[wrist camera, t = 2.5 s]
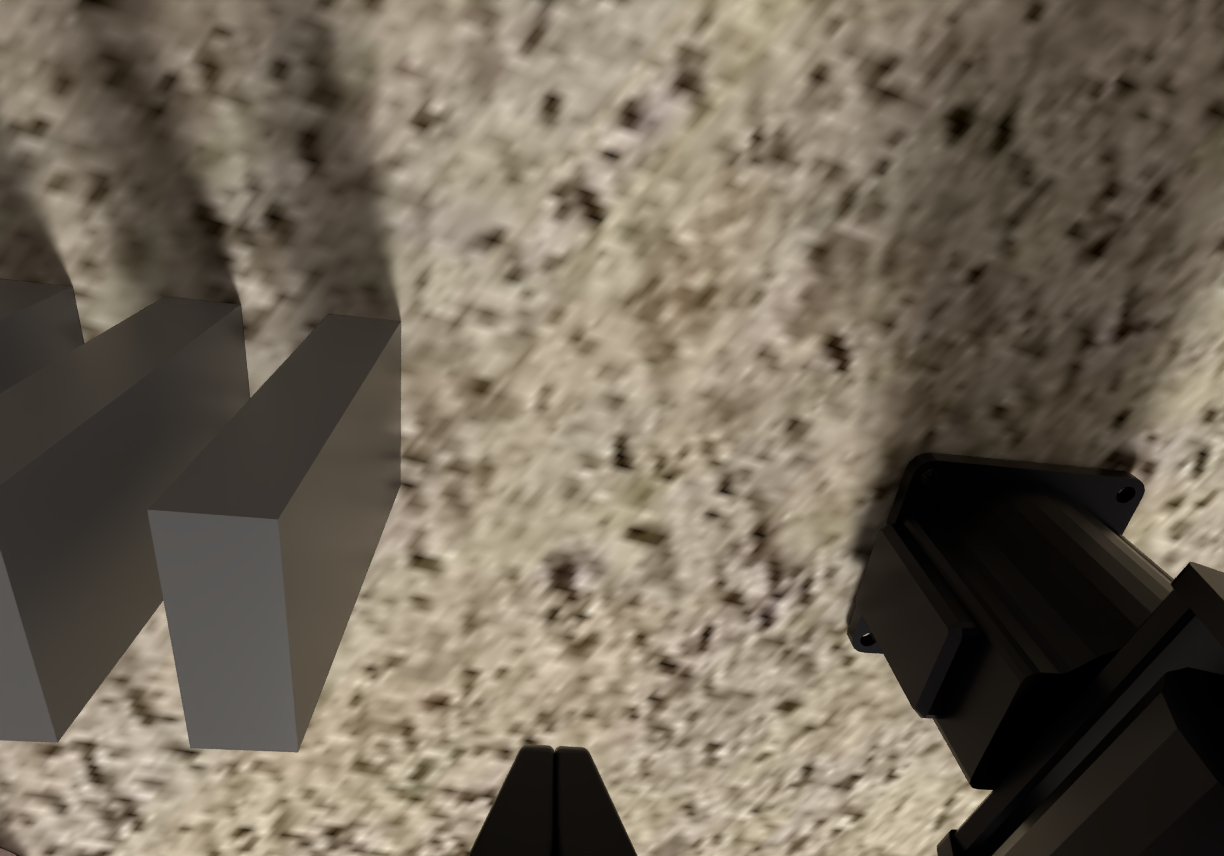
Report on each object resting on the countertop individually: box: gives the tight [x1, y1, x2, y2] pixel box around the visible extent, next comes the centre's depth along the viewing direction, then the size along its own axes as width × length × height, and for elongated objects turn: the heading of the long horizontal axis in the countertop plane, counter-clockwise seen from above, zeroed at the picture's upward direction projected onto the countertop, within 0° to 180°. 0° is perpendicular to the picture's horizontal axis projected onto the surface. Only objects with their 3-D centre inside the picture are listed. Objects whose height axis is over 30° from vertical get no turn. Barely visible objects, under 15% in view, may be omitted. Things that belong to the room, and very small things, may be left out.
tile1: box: [147, 314, 401, 752], centre depth 14 cm, size 2×4×8 cm, turn 172°
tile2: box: [0, 296, 250, 742], centre depth 13 cm, size 2×4×8 cm, turn 172°
